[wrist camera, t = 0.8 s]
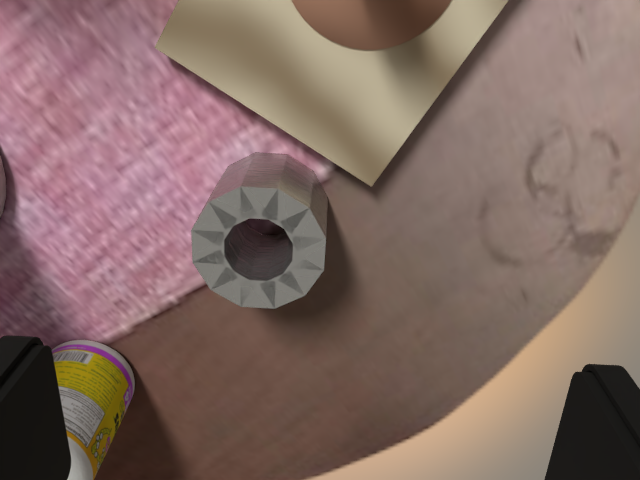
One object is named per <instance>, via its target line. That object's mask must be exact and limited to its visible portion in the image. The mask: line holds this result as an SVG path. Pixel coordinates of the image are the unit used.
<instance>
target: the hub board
mask: <svg viewBox="0 0 640 480" xmlns="http://www.w3.org/2000/svg"><path fill="white" fill-rule="evenodd" d="M507 2H508V0H179V1H178V3H177V5H176V7H175V9H174V11H173V13H172V15H171V17H170V19H169V20H168V22H167V24H166V26H165V28H164V30H163V32H162V34H161V36H160V38H159V40H158V42H157V44H156V46H155V48H156V49H158V50H159V51H161V52H162V53H164V54H165V55H167V56H168V57H170V58H172V59H173V60H175V61H176V62H178V63H179V64H181V65H182V66H184V67H186V68H187V69H189V70H190V71H192V72H193V73H195V74H196V75H198V76H200V77H201V78H203V79H204V80H206V81H207V82H209V83H211V84H212V85H214V86H215V87H217V88H218V89H220V90H221V91H223V92H225V93H226V94H228V95H229V96H231V97H232V98H234V99H235V100H237V101H239V102H240V103H242V104H243V105H245V106H246V107H248V108H249V109H251V110H253V111H254V112H256V113H257V114H259V115H260V116H262V117H263V118H265V119H267V120H268V121H270V122H271V123H273V124H274V125H276V126H278V127H279V128H281V129H282V130H284V131H285V132H287V133H288V134H290V135H292V136H293V137H295V138H296V139H298V140H299V141H301V142H302V143H304V144H306V145H307V146H309V147H310V148H312V149H313V150H315V151H316V152H318V153H320V154H321V155H323V156H324V157H326V158H327V159H329V160H331V161H332V162H334V163H335V164H337V165H338V166H340V167H341V168H343V169H345V170H346V171H348V172H349V173H351V174H352V175H354V176H355V177H357V178H359V179H360V180H362V181H363V182H365V183H366V184H368V185H369V186H371V187H372V185H373V184H374V183H375V181H376V180H377V178H378V177H379V176H380V174H381V173H382V172H383V170H384V169H385V168H386V166H387V165H388V164H389V162H390V161H391V159H392V158H393V157H394V155H395V154H396V153H397V151H398V150H399V149H400V147H401V146H402V144H403V143H404V142H405V140H406V139H407V138H408V136H409V135H410V134H411V132H412V131H413V130H414V128H415V127H416V125H417V124H418V123H419V121H420V120H421V119H422V117H423V116H424V115H425V113H426V112H427V111H428V109H429V108H430V106H431V105H432V104H433V102H434V101H435V100H436V98H437V97H438V96H439V94H440V93H441V91H442V90H443V89H444V87H445V86H446V85H447V83H448V82H449V81H450V79H451V78H452V77H453V75H454V74H455V72H456V71H457V70H458V68H459V67H460V66H461V64H462V63H463V62H464V60H465V59H466V57H467V56H468V55H469V53H470V52H471V51H472V49H473V48H474V47H475V45H476V44H477V43H478V41H479V40H480V38H481V37H482V36H483V34H484V33H485V32H486V30H487V29H488V28H489V26H490V25H491V24H492V22H493V21H494V19H495V18H496V17H497V15H498V14H499V13H500V11H501V10H502V9H503V7H504V6H505V4H506V3H507Z"/></svg>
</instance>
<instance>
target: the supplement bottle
mask: <svg viewBox="0 0 640 480" xmlns="http://www.w3.org/2000/svg"><path fill="white" fill-rule="evenodd" d="M52 354H53V359H54V365H55V370H56V376H57V382H58V387H59V393H60V398H61V404H62V409H63V415H64V421H65V426H66V432H67V437H68V443H69V448H70V454H71V469H70V473H69V477H68V479H67V480H94V479H95V476H96V474H97V472H98V470H99V468H100V466H101V464H102V461H103V459H104V457H105V455H106V453H107V451H108V449H109V447H110V445H111V442H112V440H113V438H114V436H115V434H116V432H117V430H118V428H119V426H120V423H121V421H122V419H123V417H124V415H125V413H126V411H127V408H128V406H129V404H130V402H131V399H132V397H133V394H134V389H135V380H134V375H133V372H132V369H131V367H130V365H129V364H128V363H127V361H126V360H125V359H124V358H123V357H122V356H121V355H120V354H119V353H118V352H117V351H115V350H114V349H112V348H110V347H108V346H106V345H104V344H101V343H99V342H95V341H91V340H73V341H68V342H65V343H62V344H60V345H58V346H56V347H55V348H53V349H52Z"/></svg>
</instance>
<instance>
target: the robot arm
mask: <svg viewBox="0 0 640 480" xmlns="http://www.w3.org/2000/svg"><path fill="white" fill-rule="evenodd" d="M5 199H6V177H5V172H4V168H3V163H2V159H1V156H0V218H1V216H2V213H3V209H4V204H5ZM70 469H71V454H70V448H69V443H68V437H67V432H66V426H65V421H64V415H63V409H62V404H61V398H60V393H59V387H58V382H57V376H56V370H55V365H54V359H53V354H52V350H51V348H50V347H49V346H43V343H42V341H41V340H40V338H38V337H25V336H3V337H2V338H1V339H0V480H67V479H68V477H69V473H70ZM545 480H640V389H639V388H638V387H637V385H636V384H635V382H634V381H633V379H632V378H631V377H630V375H629V374H628V372H627V371H626V370H625V369H624V368H623V367H622V366H617V365H597V364H588V365H586V366H585V367H584V368H583V370H582V372H575V373H574V375H573V377H572V379H571V383H570V387H569V391H568V394H567V398H566V402H565V406H564V409H563V413H562V417H561V421H560V424H559V428H558V432H557V435H556V439H555V443H554V446H553V450H552V454H551V458H550V462H549V465H548V469H547V473H546V476H545Z"/></svg>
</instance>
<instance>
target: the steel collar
mask: <svg viewBox="0 0 640 480" xmlns="http://www.w3.org/2000/svg"><path fill="white" fill-rule="evenodd" d="M327 205H328V197H327V195H326V193H325V191H324V190H323V188H322V186H321V184H320V182H319V180H318V178H317V176H316V174H315V173H314V171H313V170H311V169H310V168H308V167H306V166H305V165H303V164H302V163H300V162H299V161H297V160H295V159H294V158H292V157H291V156H289V155H287V154H274V153H258V152H255V153H253V154H251V155H249V156H247V157H245V158H243V159H241V160H239V161H237V162H235V163H233V164H231V165H229V166H228V167H227V169H226V171H225V172H224V174H223V175H222V177H221V179H220V180H219V182H218V184H217V185H216V187H215V188H214V190H213V192H212V193H211V195H210V197H209V199H208V201H207V202H206V204H205V206H204V208H203V210H202V212H201V213H200V215H199V217H198V219H197V221H196V222H195V224H194V226H193V228H192V230H191V233H192V259H193V264H194V265H195V267H196V268H197V270H198V271H199V273H200V274H201V276H202V277H203V279H204V280H205V282H206V283H207V285H208V286H209V288H210V289H211V290H212V291H214V292H215V293H217V294H219V295H221V296H223V297H224V298H226V299H228V300H230V301H232V302H233V303H235V304H237V305H239V306H240V307H255V308H272V309H275V308H277V307H280V306H282V305H284V304H287V303H289V302H291V301H294V300H296V299H298V298H301V297H303V296H305V295H306V294H307V292H308V291H309V290H310V288H311V287H312V286H313V284H314V283H315V282H316V280H317V279H318V278H319V276H320V275H321V274H322V272H323V271H324V261H325V246H326V230H327ZM249 218H252V219H268V220H270V221H272V222H273V223H275V224H277V225H278V226H280V227H282V228H283V229H285V232H283V233H281V234H279V235H265V234H261V233H259V232H257V231H256V230H254V229H252V228H250V227H249V226H248V224H247V223H246V221H245V220H247V219H249Z"/></svg>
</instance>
